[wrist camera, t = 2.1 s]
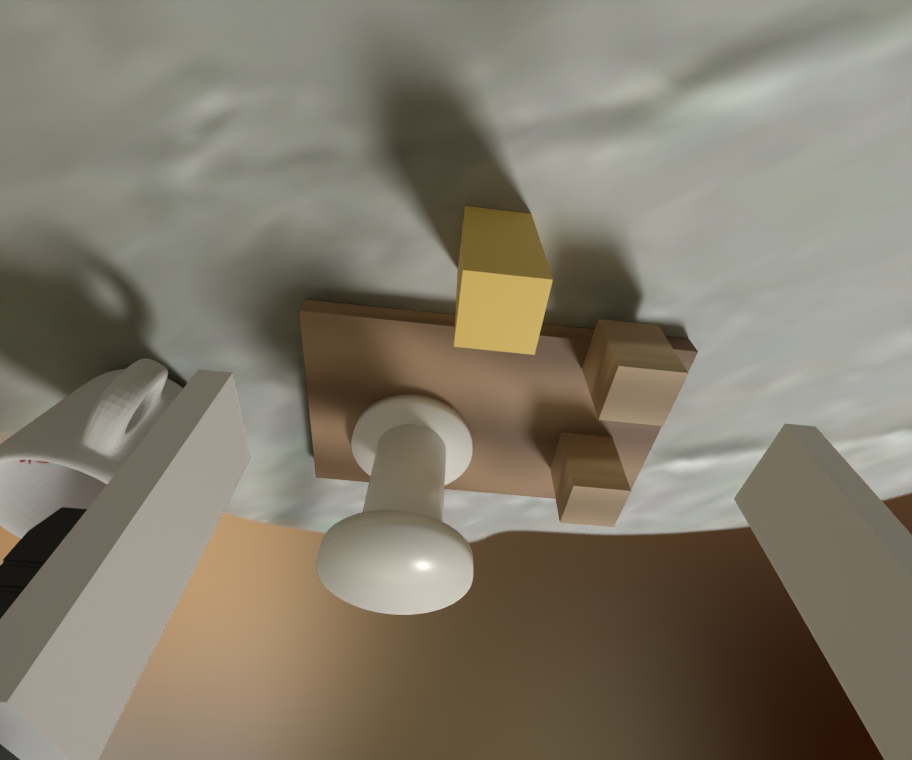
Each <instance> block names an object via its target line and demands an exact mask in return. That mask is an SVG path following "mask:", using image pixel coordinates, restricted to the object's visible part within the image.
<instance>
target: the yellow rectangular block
mask: <svg viewBox="0 0 912 760" xmlns="http://www.w3.org/2000/svg"><path fill="white" fill-rule="evenodd" d="M552 282H553V278H552V275H551V272H550V269H549V266H548V263H547V260H546V257H545V254H544V251H543V248H542V245H541V242H540V239H539V236H538V233H537V230H536V227H535V224H534V221H533V218H532V214H531V213H522V212H513V211H505V210H496V209H487V208H478V207H470V206H465V209H464V218H463V227H462V235H461V244H460V253H459V262H458V273H457V293H456V312H455V331H454V347H461V348H471V349H481V350H491V351H501V352H511V353H521V354H531V355H535V351H536V347H537V343H538V339H539V335H540V331H541V327H542V323H543V319H544V314H545V310H546V306H547V302H548V298H549V294H550V290H551V286H552Z"/></svg>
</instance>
